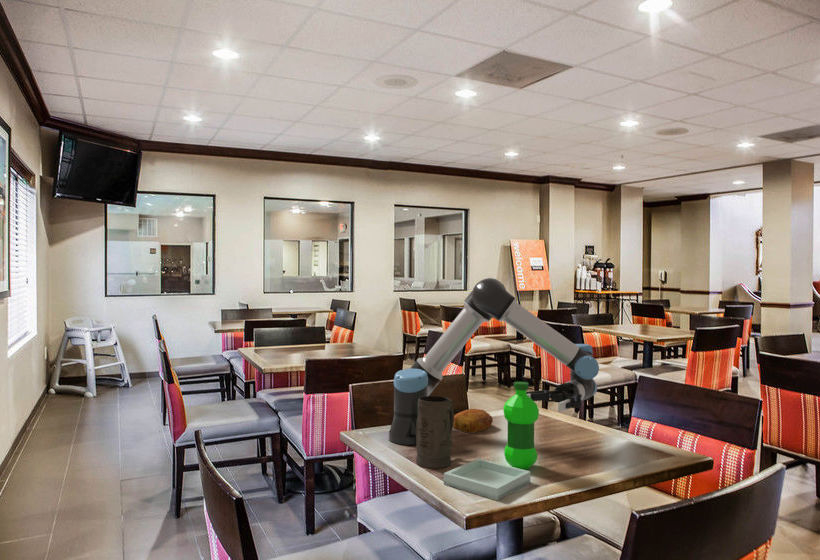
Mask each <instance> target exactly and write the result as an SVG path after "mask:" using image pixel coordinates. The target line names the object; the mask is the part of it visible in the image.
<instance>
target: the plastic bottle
mask: <svg viewBox="0 0 820 560" xmlns="http://www.w3.org/2000/svg"><path fill="white" fill-rule="evenodd" d="M513 389H514V390H515V394H514V395H512V396H511V397H510V398H508V399H507V400H506V401H505V402H504V405H503V415H504V418H505V420H506V421H507V442H506V445H505V447H504V449H503V450H504V452H503V453H504V454H503V455H504V458H505V461H506V463H508V464H509V466H511V467H515V468H519V469H523V470H525V469H527V470H528V469H530V468H531V467H532V466H533V465H535V464H536V462H537V460H538V452H537V449H536V448H535V423H536V422H537V421H538V420H539V416H540V414H539V413H540V410H539V407H538V404H537V403H536V401H533V400H532V399H531V398H530V397H529V396H528V395H527V392H528V390H529V382H527V381H514V382H513Z"/></svg>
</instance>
